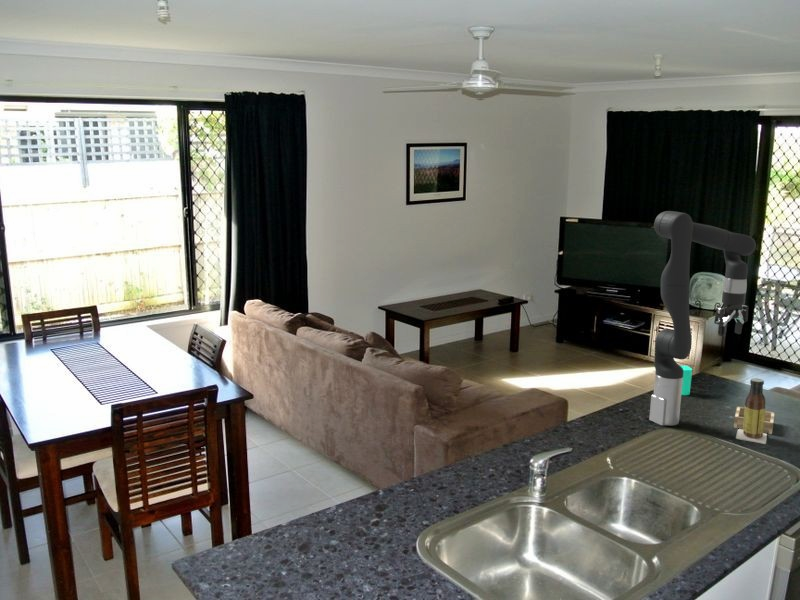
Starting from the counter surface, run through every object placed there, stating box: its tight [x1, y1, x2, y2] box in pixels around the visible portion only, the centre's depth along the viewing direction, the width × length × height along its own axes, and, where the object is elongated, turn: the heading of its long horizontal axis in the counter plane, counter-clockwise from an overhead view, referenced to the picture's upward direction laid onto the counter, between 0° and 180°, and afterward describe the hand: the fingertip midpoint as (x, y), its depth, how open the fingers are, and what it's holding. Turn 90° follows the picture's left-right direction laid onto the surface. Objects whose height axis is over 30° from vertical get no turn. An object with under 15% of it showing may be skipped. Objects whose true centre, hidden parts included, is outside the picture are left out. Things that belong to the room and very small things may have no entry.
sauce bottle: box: [742, 377, 766, 438], centre depth 239 cm, size 7×6×20 cm
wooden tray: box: [733, 406, 775, 435], centre depth 251 cm, size 12×12×4 cm
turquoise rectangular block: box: [680, 364, 693, 396], centre depth 284 cm, size 6×6×12 cm
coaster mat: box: [735, 428, 768, 445], centre depth 241 cm, size 9×9×1 cm
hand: (729, 334), depth 256 cm, fingers open, 8 cm apart
